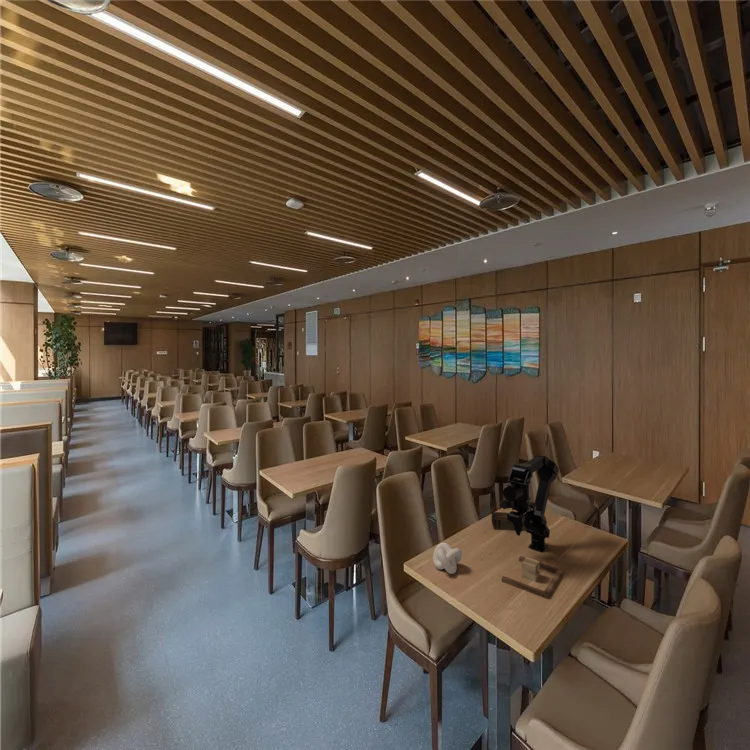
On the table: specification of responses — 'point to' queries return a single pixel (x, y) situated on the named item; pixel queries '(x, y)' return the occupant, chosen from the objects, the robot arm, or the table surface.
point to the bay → (534, 590)
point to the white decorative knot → (446, 557)
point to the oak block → (530, 569)
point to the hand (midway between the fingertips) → (522, 531)
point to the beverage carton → (502, 522)
